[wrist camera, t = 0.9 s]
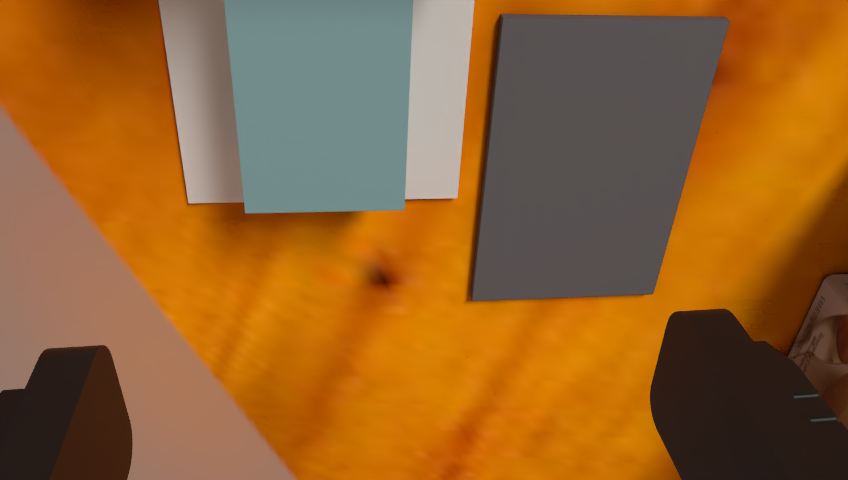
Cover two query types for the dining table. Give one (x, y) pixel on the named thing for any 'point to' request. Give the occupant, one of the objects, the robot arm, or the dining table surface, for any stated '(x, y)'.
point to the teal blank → (321, 102)
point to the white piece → (215, 112)
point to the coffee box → (827, 345)
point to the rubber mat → (589, 151)
